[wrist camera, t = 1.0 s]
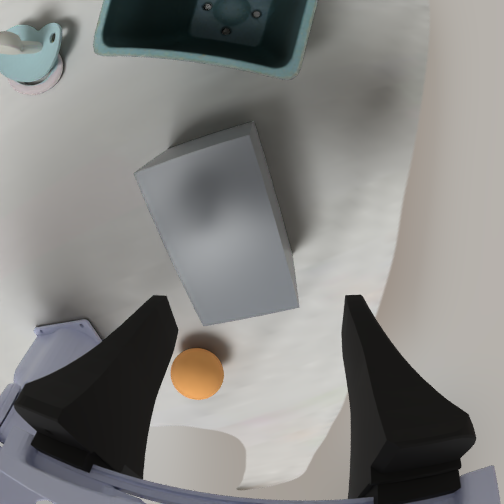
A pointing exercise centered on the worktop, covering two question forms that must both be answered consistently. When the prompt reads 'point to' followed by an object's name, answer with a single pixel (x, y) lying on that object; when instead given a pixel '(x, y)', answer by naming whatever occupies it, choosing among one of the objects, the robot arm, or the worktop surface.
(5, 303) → the worktop surface
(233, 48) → the flower pot
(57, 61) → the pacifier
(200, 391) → the ball
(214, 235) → the gray rectangular block
